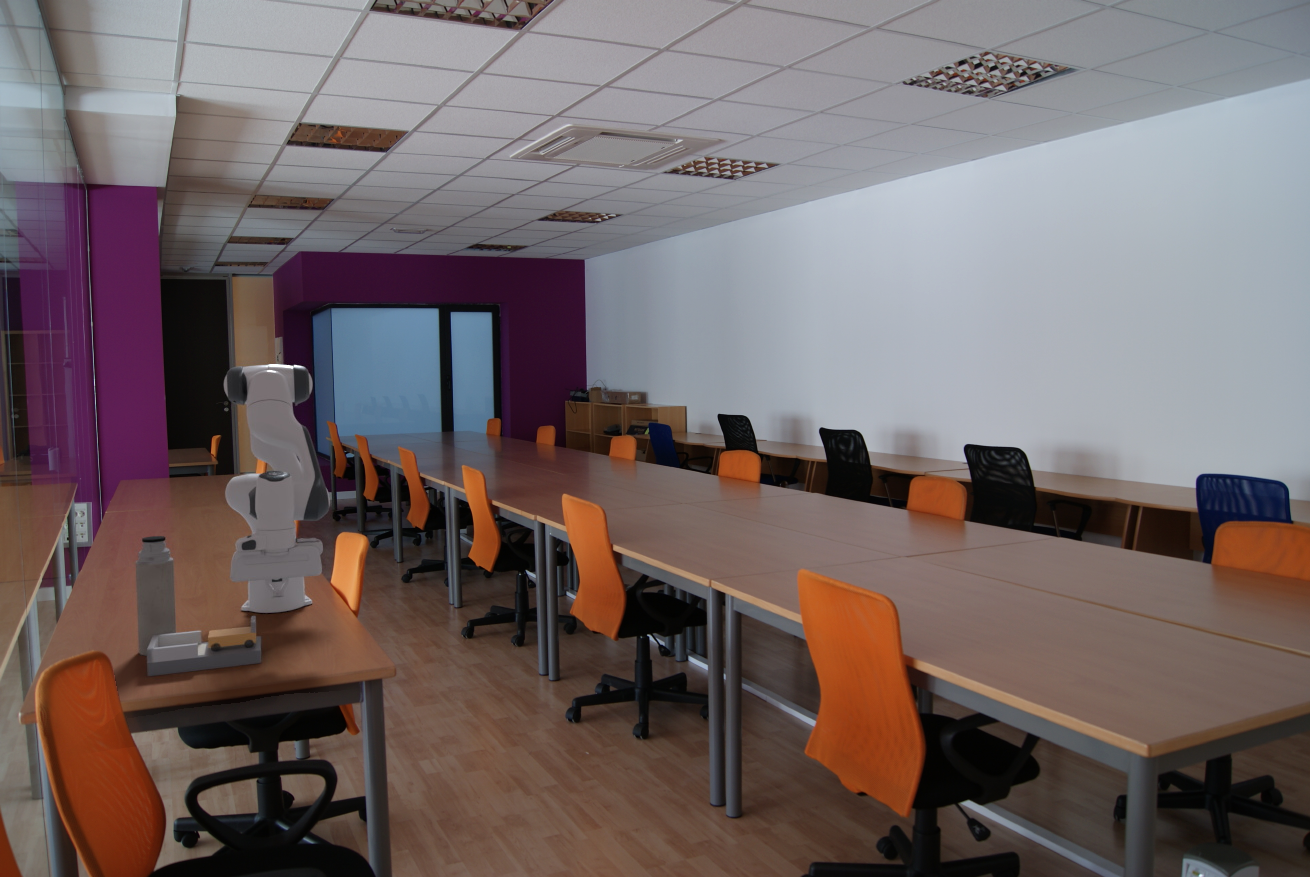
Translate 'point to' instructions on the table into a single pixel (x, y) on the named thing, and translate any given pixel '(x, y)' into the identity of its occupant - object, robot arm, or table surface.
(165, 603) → the thermos bottle
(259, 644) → the dock
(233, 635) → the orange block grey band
